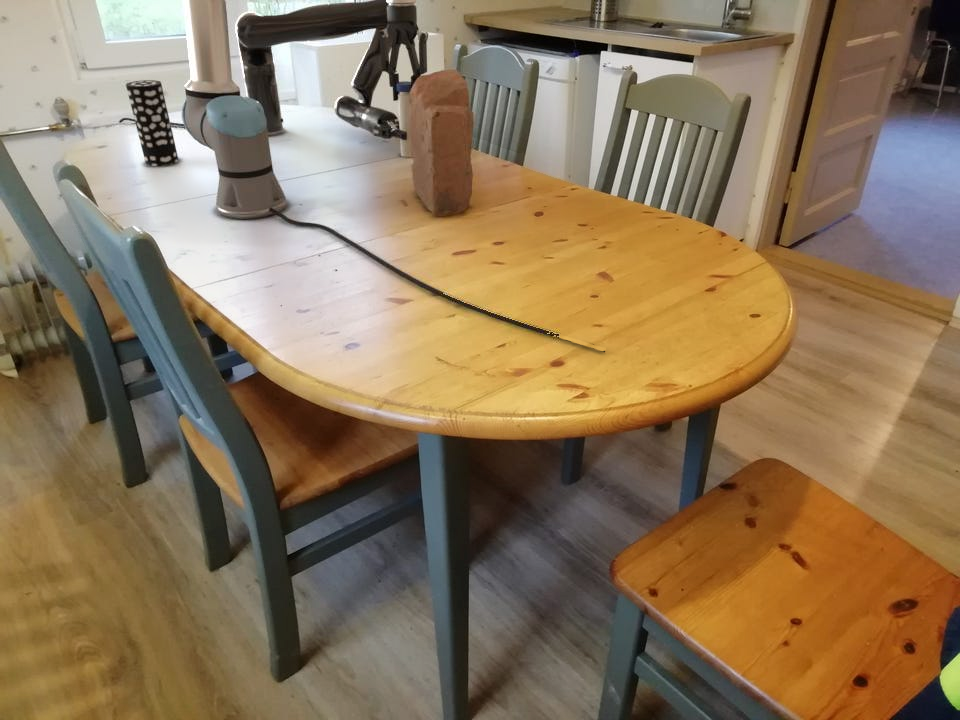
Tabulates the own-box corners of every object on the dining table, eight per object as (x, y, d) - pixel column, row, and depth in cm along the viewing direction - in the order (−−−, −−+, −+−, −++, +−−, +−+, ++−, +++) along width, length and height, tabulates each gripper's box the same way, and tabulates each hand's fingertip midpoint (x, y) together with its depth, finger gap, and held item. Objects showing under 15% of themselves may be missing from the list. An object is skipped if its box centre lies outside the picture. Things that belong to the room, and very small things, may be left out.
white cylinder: (400, 153, 196) (397, 86, 186) (414, 152, 197) (412, 85, 187) (401, 157, 193) (398, 89, 183) (416, 156, 193) (413, 89, 183)
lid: (408, 92, 183) (408, 85, 182) (392, 91, 184) (392, 83, 183) (417, 89, 186) (417, 82, 185) (401, 87, 188) (401, 80, 187)
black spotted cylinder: (184, 157, 190) (167, 80, 179) (169, 166, 183) (151, 87, 172) (155, 156, 190) (136, 79, 179) (139, 165, 183) (119, 86, 172)
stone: (482, 213, 155) (482, 80, 141) (434, 219, 152) (429, 83, 138) (455, 187, 173) (452, 67, 159) (411, 191, 170) (404, 69, 156)
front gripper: (439, 4, 175) (441, 100, 187) (375, 1, 179) (381, 95, 192) (428, 7, 169) (431, 106, 181) (363, 4, 173) (369, 100, 186)
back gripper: (357, 112, 195) (390, 124, 184) (399, 105, 202) (433, 117, 191) (359, 139, 199) (391, 153, 188) (401, 131, 206) (434, 144, 195)
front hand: (405, 100), depth 187 cm, fingers closed on lid, 5 cm apart
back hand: (412, 134), depth 189 cm, fingers closed on white cylinder, 4 cm apart
